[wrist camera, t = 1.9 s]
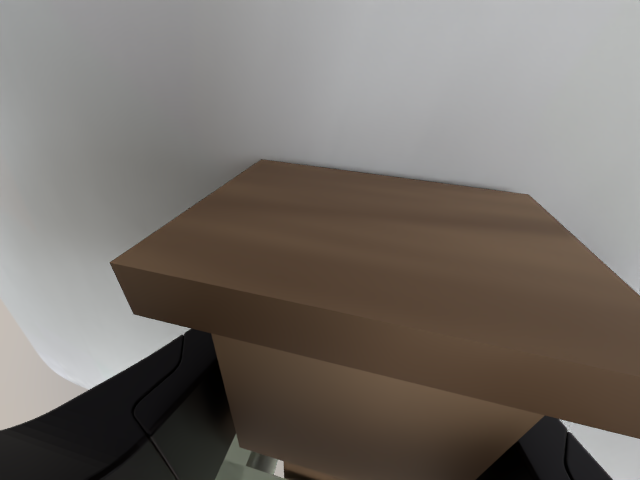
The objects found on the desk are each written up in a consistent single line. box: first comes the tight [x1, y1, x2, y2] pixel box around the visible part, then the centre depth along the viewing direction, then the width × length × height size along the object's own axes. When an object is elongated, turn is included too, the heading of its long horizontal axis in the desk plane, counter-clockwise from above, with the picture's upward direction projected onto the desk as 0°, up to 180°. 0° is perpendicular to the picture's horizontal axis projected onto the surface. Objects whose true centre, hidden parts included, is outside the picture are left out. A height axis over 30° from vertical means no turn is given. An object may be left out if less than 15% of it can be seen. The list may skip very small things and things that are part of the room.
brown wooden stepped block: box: [110, 159, 640, 480], centre depth 10 cm, size 18×7×5 cm, turn 176°
